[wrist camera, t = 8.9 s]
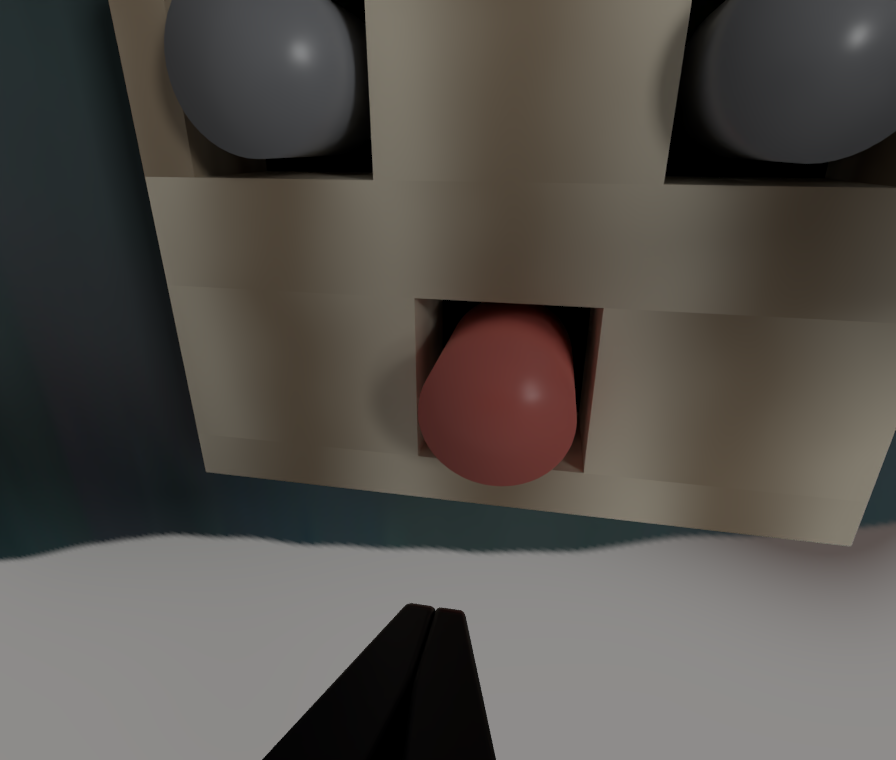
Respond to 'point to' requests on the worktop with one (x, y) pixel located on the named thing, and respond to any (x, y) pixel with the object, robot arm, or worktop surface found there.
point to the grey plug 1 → (270, 75)
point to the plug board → (532, 275)
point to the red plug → (501, 395)
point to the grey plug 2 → (791, 79)
